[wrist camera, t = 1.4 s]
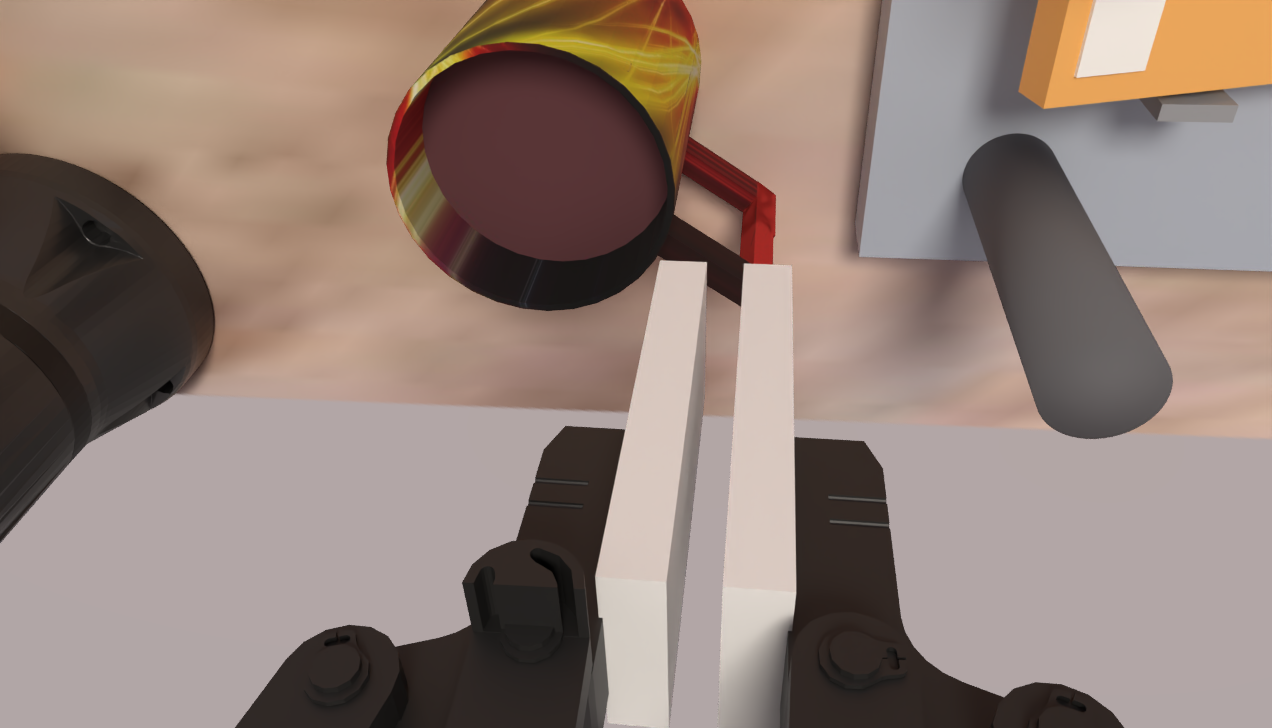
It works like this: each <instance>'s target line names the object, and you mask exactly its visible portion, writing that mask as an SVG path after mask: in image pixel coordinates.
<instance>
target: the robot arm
mask: <svg viewBox="0 0 1272 728" xmlns="http://www.w3.org/2000/svg"><path fill="white" fill-rule="evenodd" d="M706 295H707V262H689V261H662V260H660V263H659V268H658V273H657V278H656V283H655V288H654V293H653V297H652V302H651V307H650V312H649V317H648V322H647V327H646V332H645V336H644V341H643V346H642V351H641V356H640V361H639V366H638V371H637V375H636V380H635V385H634V390H633V395H632V400H631V405H630V410H629V414H628V419H627V424H626V429H625V430H622V429H607V428H590V427H572V426H565V427H564V428H563V429H562V430H561V432H560V433H559V434H558V435H557V436H556V437H555V438H554V439H553V440H552V441H551V442H550V444H549V445H548V446H547V447H546V448H545V449H544V451H543V454H542V458H541V461H540V464H539V467H538V471H537V475H536V477H535V478H536V479H535V483H534V484H533V487H532V491H531V494H530V497H529V504H528V506H527V507H526V510H525V513H524V517H523V520H522V524H521V527H520V530H519V533H518V537H517V540H516V541H511V542H509V543H506V544H504V545H501V546H499V547H496V548H494V549H491V550H489V551H488V552H487V553H486V554H484V555H483V556H482V557H481V558H480V559H478V560H477V561H476V562H475V563H474V564H472V566H471V568H470V569H469V571H468V573H467V575H466V577H465V578H464V580H463V582H462V584H463V588H464V593H465V598H466V602H467V607H468V612H469V616H470V621H471V625H470V626H468V627H466V628H464V629H462V630H460V631H458V632H456V633H453V634H450V635H447V636H443V637H440V638H436V639H431V640H426V641H422V642H417V643H412V644H407V645H402V646H397V647H395V646H394V645H393V643H392V642H391V640H390V639H389V637H388V636H386V635H385V634H383V633H381V632H379V631H377V630H375V629H374V628H372V627H365V626H355V625H347V626H342V627H338V628H333V629H329V630H325V631H324V632H322V633H320V634H318V635H316V636H314V637H312V638H310V639H309V640H307V641H305V642H303V644H301V645H300V646H299V647H298V648H297V649H296V650H295V651H294V652H293V653H292V654H291V655H290V656H289V657H288V658H287V659H286V660H285V662H284V663H283V664H282V666H281V667H280V668H279V670H278V671H277V673H276V674H275V675H274V676H273V678H272V679H271V680H270V682H269V683H268V684H267V686H266V687H265V689H264V690H263V691H262V692H261V694H260V695H259V696H258V698H257V699H256V700H255V702H254V703H253V704H252V706H251V707H250V709H249V710H248V711H247V712H246V714H245V715H244V716H243V718H242V719H241V721H240V722H239V723H238V724H237V726H236V727H235V728H603V725H604V719H605V713H606V708H607V718H608V723H612V724H621V725H632V726H642V727H653V728H669V725H670V716H671V706H672V697H673V696H672V695H673V687H674V678H675V669H676V659H677V650H678V641H679V631H680V622H681V612H682V603H683V594H684V585H685V576H686V566H687V556H688V548H689V538H690V529H691V520H692V511H693V501H694V491H695V483H696V473H697V464H698V454H699V445H700V436H701V426H702V417H703V408H704V399H705V358H706ZM213 327H214V321H213V311H212V305H211V301H210V297H209V294H208V291H207V288H206V285H205V283H204V280H203V278H202V276H201V274H200V272H199V270H198V268H197V266H196V265H195V263H194V261H193V260H192V258H191V257H190V255H189V253H188V252H187V251H186V249H185V248H184V246H183V245H182V244H181V242H180V241H179V240H178V239H177V238H176V236H175V235H174V234H173V233H172V232H171V231H170V230H169V228H168V227H167V226H166V225H165V224H164V223H163V222H162V221H161V220H160V219H159V218H158V217H157V216H156V215H154V214H153V213H152V212H151V211H150V210H149V209H148V208H146V207H145V206H144V205H143V204H142V203H140V202H139V201H138V200H136V199H135V198H134V197H132V196H131V195H130V194H128V193H127V192H125V191H124V190H122V189H121V188H119V187H118V186H116V185H114V184H112V183H111V182H109V181H107V180H106V179H104V178H102V177H100V176H98V175H96V174H94V173H92V172H89V171H87V170H85V169H83V168H80V167H78V166H75V165H72V164H69V163H66V162H63V161H60V160H56V159H53V158H48V157H43V156H38V155H31V154H18V153H14V154H0V543H1V542H2V540H4V538H5V537H6V536H7V535H8V534H9V532H10V531H11V530H12V529H13V528H14V527H15V526H16V524H17V523H18V522H19V521H20V520H21V518H22V517H23V516H24V515H25V514H26V513H27V511H29V509H30V508H31V507H32V506H33V505H34V504H35V502H36V501H37V500H38V499H39V498H40V497H41V495H42V494H43V493H44V492H45V491H46V490H47V488H48V487H49V486H50V485H51V484H52V483H53V481H54V480H55V479H56V478H57V477H58V476H59V475H60V474H61V472H62V471H63V470H64V469H65V468H66V466H67V465H68V464H69V463H70V462H71V461H72V460H73V459H74V458H75V456H76V455H77V454H78V453H79V452H80V451H81V450H82V449H83V447H85V445H86V444H88V443H89V442H91V441H93V440H95V439H97V438H98V437H100V436H102V435H104V434H106V433H108V432H110V431H111V430H113V429H115V428H117V427H119V426H121V425H122V424H124V423H126V422H128V421H130V420H132V419H133V418H136V417H138V416H139V415H141V414H143V413H145V412H147V411H148V410H150V409H152V408H154V407H156V406H158V405H160V404H161V403H163V402H165V401H166V400H168V399H169V398H170V397H172V396H173V395H174V394H175V393H177V392H178V391H179V390H180V389H181V388H182V387H183V385H184V384H185V383H186V382H187V381H188V379H189V378H190V377H191V376H192V374H193V373H194V372H195V371H196V370H197V368H198V367H199V366H200V365H201V364H202V362H203V361H204V359H205V357H206V355H207V353H208V351H209V348H210V346H211V342H212V337H213ZM729 485H730V486H729V499H728V514H727V530H726V545H725V560H724V575H723V576H724V577H723V594H722V596H723V597H722V623H721V649H720V676H719V704H718V728H1124V727H1123V726H1122V724H1121V723H1120V722H1119V720H1118V719H1117V718H1116V717H1115V715H1114V714H1113V713H1112V712H1111V711H1110V710H1108V709H1107V708H1106V707H1104V706H1103V705H1102V704H1100V703H1099V702H1097V701H1096V700H1095V699H1093V698H1092V697H1091V696H1089V695H1088V694H1085V693H1083V692H1080V691H1077V690H1075V689H1072V688H1070V687H1067V686H1064V685H1062V684H1050V683H1037V682H1035V683H1032V684H1029V685H1025V686H1022V687H1018V688H1015V689H1013V690H1012V691H1011V692H1010V693H1009V694H1008V695H1007V696H1006V697H1001V696H999V695H996V694H993V693H990V692H988V691H985V690H982V689H980V688H977V687H974V686H972V685H969V684H966V683H964V682H961V681H959V680H957V679H955V678H953V677H951V676H948V675H947V674H945V673H942V672H941V671H940V670H939V669H937V668H936V667H934V666H933V665H932V664H930V663H929V662H928V661H926V660H925V659H924V657H923V656H922V655H921V654H920V653H919V652H918V651H917V650H916V649H915V648H914V647H913V645H912V643H911V641H910V640H909V638H908V636H907V635H906V633H905V630H904V627H903V623H902V619H901V614H900V607H899V598H898V590H897V581H896V573H895V565H894V558H893V549H892V541H891V532H890V529H889V516H888V507H887V504H886V491H885V483H884V475H883V468H882V467H881V465H880V464H879V462H878V461H877V460H876V458H875V457H874V455H873V454H872V452H871V451H870V449H869V448H868V446H867V445H866V443H865V442H864V441H850V440H832V439H815V438H798V437H794V382H793V307H792V265H770V264H744V271H743V287H742V302H741V317H740V332H739V347H738V363H737V378H736V393H735V408H734V423H733V440H732V455H731V471H730V484H729Z"/></svg>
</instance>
